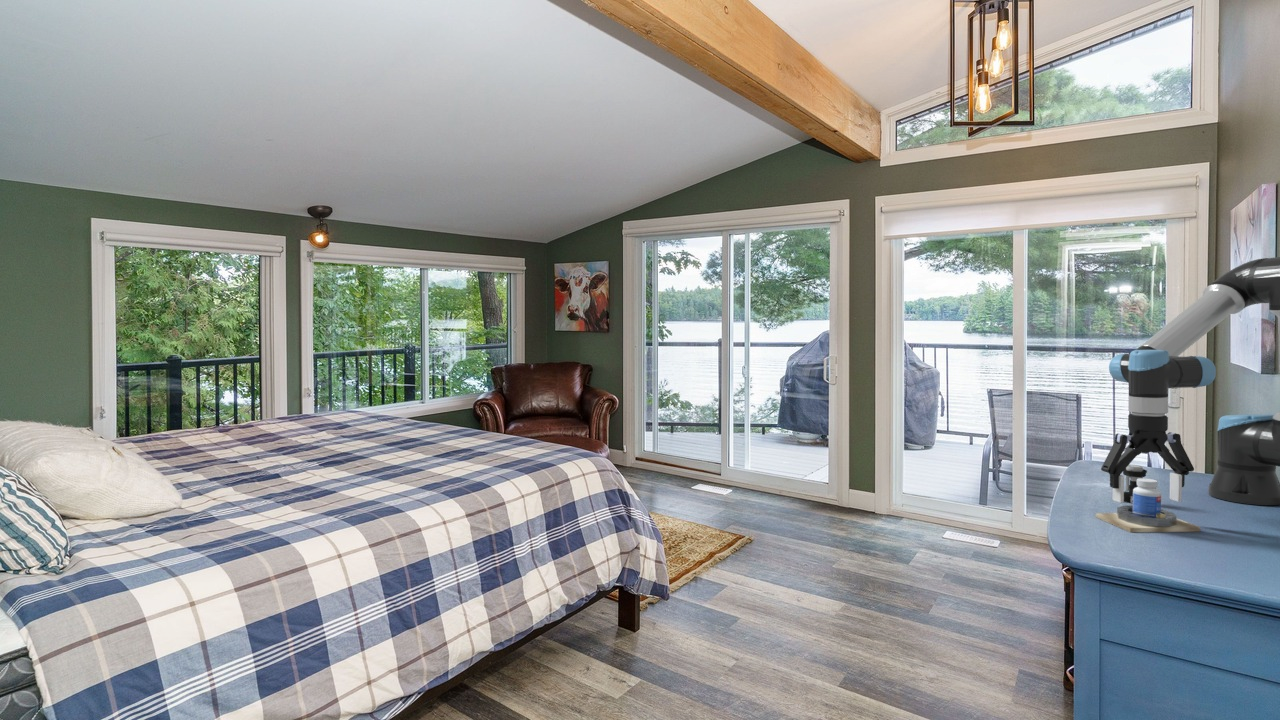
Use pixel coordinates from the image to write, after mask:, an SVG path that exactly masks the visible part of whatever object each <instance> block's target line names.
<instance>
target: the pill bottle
mask: <svg viewBox="0 0 1280 720" xmlns="http://www.w3.org/2000/svg"><path fill="white" fill-rule="evenodd" d="M1158 484H1159V483H1158V481H1157V480H1156V479H1152V478H1144V477H1143V478H1138V479H1137V485H1138V487H1136V488H1134V489H1133V503H1132V506H1133V513H1136V514H1141V515H1147V516H1156V513H1161V509H1162V492H1161V490H1159V489H1157V488H1158V487H1159V485H1158Z"/></svg>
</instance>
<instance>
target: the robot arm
mask: <svg viewBox="0 0 1280 720" xmlns="http://www.w3.org/2000/svg"><path fill="white" fill-rule="evenodd" d="M1258 304H1268V307H1269V308H1268V310H1269V312H1270V313H1272V314H1273V315H1274V316H1275V317H1277V326H1278V327H1277V329H1278V330H1277V331H1278V332H1277V333H1278V360H1279V361H1278V364H1279V369H1278V370H1279V371H1278V372H1280V256H1276V257H1264V258H1263V257H1262V258H1258V259H1254V260H1250V261H1247V262H1246V263H1245V262H1244V263H1243V264H1242V263H1241V264H1240V265H1238V266H1236V267H1235V268H1233V269H1230V270H1228V271H1227V272H1226V273H1224V274H1222V275H1221V276H1219V277H1218V278H1216V279H1215V280H1214V281H1213V282H1211V283H1210V284H1209V285H1207V286H1206V287H1204V289H1203V291H1202V296H1201V297H1199V298H1198V299H1197V300H1195V301H1194V302H1193V303H1192V304H1191V305H1189V306H1188V307H1186V309H1184V310H1183V311H1181V313H1179V314H1178V315H1177V316H1176V317H1174V318H1173V319H1172V320H1171V321H1170V322H1168V323H1167V324H1166V325H1165V326H1163V327H1162V328H1161V329H1159V330H1158V331H1157V332H1156V333H1154V334H1153V335H1152V336H1151V337H1149V339H1147V340H1146V341H1145V342H1143V343H1142V344H1141V345H1139V346H1138V348H1136V349H1135V350H1132V351H1130V353H1122V354H1121V353H1120V354H1117V355H1115V356H1113V357H1112V358H1111V360H1110V362H1109V365H1108V371H1109V374H1110V376H1111V377H1112V378H1113V379H1114V380H1115V381H1117V382H1120V383H1126V384H1127V383H1128V412H1130V413H1129V414H1128V415H1127V416H1128V417H1127V421H1128V422H1127V427H1128V430H1129V433H1128V434H1121V433H1115V434H1114V435H1115V436H1114V442H1113V445H1112V446H1111V449H1110V450H1109V452H1108V454H1107V456H1106V458H1105V460H1104V462H1103V464H1102V466H1101V468H1100V469H1101V471H1102V472H1105V473H1108V474H1109V487H1110V488H1112V501H1114V502H1116V503H1120V504H1124V503H1125V502H1124V491H1125V475H1122V474H1123V471H1124V470H1125V469H1126V467H1127V466H1128V465H1131V463H1132V462H1133V460H1134V459H1135V458H1136V457H1137V456H1139V455H1141V453H1143V454H1149V453H1155V454H1158V456H1159V457H1161V459H1162V460H1163V461H1164V462H1165V463H1166V464H1167V466H1168V467H1169V468H1170V469H1171V470H1172V471H1173V472H1169V498H1168V499H1170V500H1171V501H1175V502H1177V503H1179V502H1180V503H1181V502H1182V501H1183V500H1182V498H1183V497H1182V496H1183V495H1182V494H1183V493H1182V492H1183V491H1182V490H1183V488H1184V487H1185V478H1186V477H1185V476H1188V475H1189V474H1190V472H1194V470H1195V468H1194V466H1193V464H1192V461H1191V460H1190V458H1189V456H1188V453H1187V452H1186V450H1185V447H1184V446H1183V444H1182V438H1181V434H1180V433H1176V432H1175V433H1174V432H1170V431H1169V432H1168V433H1166V432H1167V431H1168V429H1169V425H1168V424H1169V421H1168V420H1169V417H1168V415H1166V414H1168V413H1169V389H1180V388H1181V389H1183V388H1185V389H1187V388H1193V389H1195V388H1200V387H1206V386H1209V385H1210V384H1212V383H1213V381H1214V380H1215V379H1216V376H1217V369H1216V365H1215V364H1214V362H1213V361H1212V360H1211V359H1210V358H1208V357H1206V356H1205V357H1204V356H1197V355H1189V356H1180V355H1182V354H1183V353H1184V352H1185V351H1186V350H1188V349H1189V348H1191V347H1192V346H1193V345H1194V344H1195V343H1197V341H1199V340H1200V339H1202V338H1203V337H1204V336H1205V335H1206V334H1208V333H1209V332H1210V331H1211V330H1213V329H1214V328H1215V327H1216V326H1217V325H1219V324H1220V323H1221V322H1223V320H1225V319H1226V318H1227V317H1228V316H1229V315H1235V314H1238V313H1241V312H1242V311H1243V310H1245V308H1247V307H1250V306H1253V305H1258ZM1216 430H1217V431H1216V432H1217V464H1216V465H1217V466H1216V469H1215V472H1214V474H1213V477H1212V479H1211V483H1209V484H1208V495H1209V496H1210V497H1212V498H1216V499H1218V500H1223V501H1228V502H1233V503H1238V504H1248V505H1255V506H1256V505H1257V506H1278V505H1280V481H1279V478H1278V476H1277V472H1276V471H1277V467H1280V411H1278V412H1277V413H1275V414H1269V413H1268V414H1267V413H1265V414H1263V413H1261V414H1259V413H1258V414H1257V413H1255V414H1254V413H1252V414H1228V415H1223V416H1221V417H1220V418H1219V420H1218V425H1217V429H1216ZM1166 442H1168V445H1169V447H1170V449H1171V451H1172V453H1173V454H1172V453H1171V452H1170V449H1169V448H1168V447H1167V446H1166V445H1165V444H1166ZM1127 444H1128V445H1127Z"/></svg>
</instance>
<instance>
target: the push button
mask: <svg viewBox="0 0 1280 720" xmlns="http://www.w3.org/2000/svg"><path fill="white" fill-rule="evenodd" d="M1143 467H1144V466H1143V465H1138V464H1129V465H1128V466H1127V467H1126V469H1125V470H1124V471H1123V472H1122V474H1123V476H1125V488H1124V503H1130V504H1133V489H1134V488H1136V487H1138V485H1137V479H1139V478H1144V477H1146V476H1147V473H1148V470H1147V469H1144V468H1143Z"/></svg>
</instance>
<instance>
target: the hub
mask: <svg viewBox="0 0 1280 720" xmlns="http://www.w3.org/2000/svg"><path fill="white" fill-rule="evenodd" d="M1116 508H1117V512H1116V513H1117V516H1118V518H1119V519H1121V520H1123V521H1126V522H1129V523H1133V524H1138V525H1143V526H1152V527H1171V526H1174V525H1176V519H1178V518H1177V515H1176V514H1175V513H1174V512H1172V511H1169V510H1166V509H1162V508H1161V513H1156V516H1147V515H1141V514H1136V513H1133V505H1122V506H1118V507H1116Z"/></svg>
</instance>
